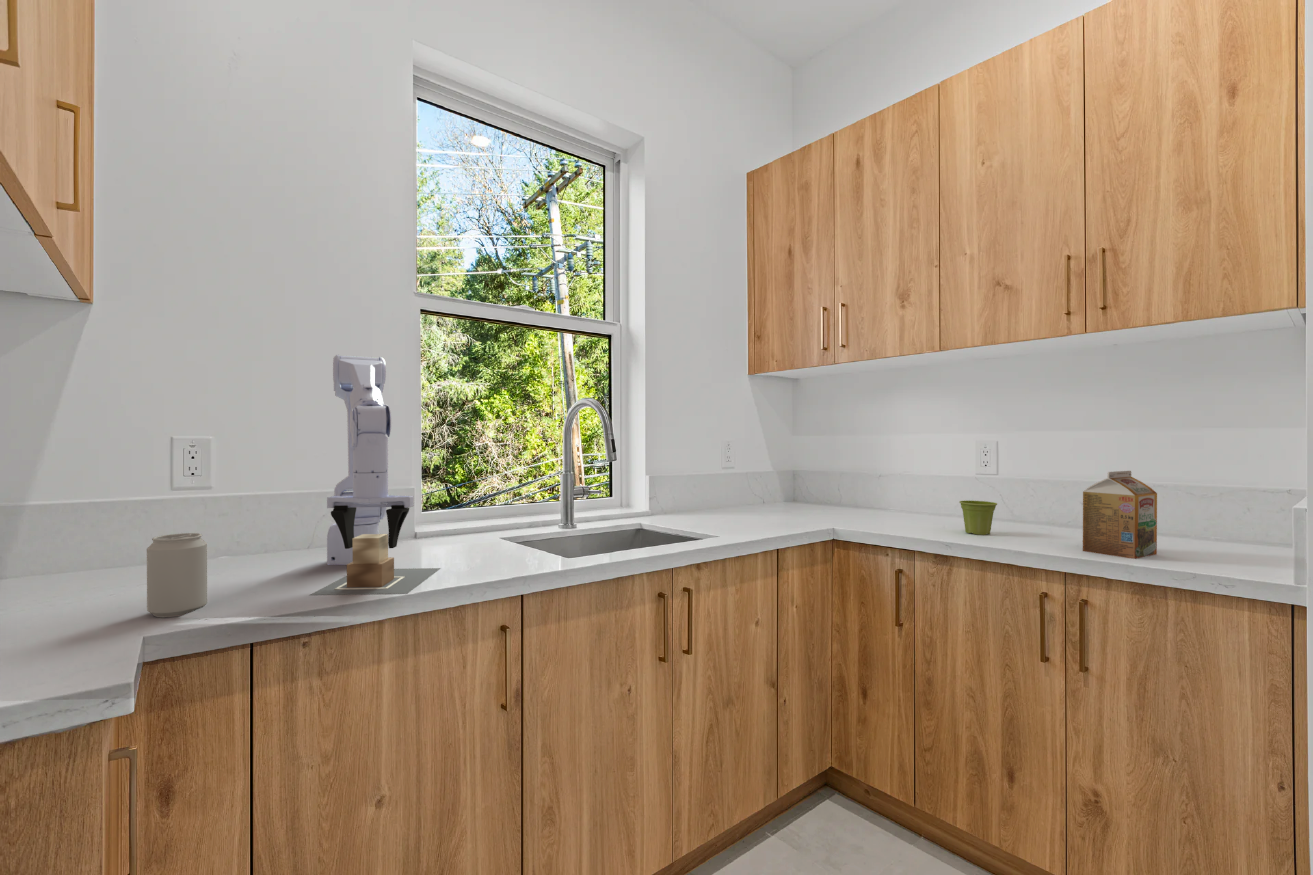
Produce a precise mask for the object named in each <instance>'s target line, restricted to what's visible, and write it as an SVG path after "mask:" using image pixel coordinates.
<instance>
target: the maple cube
mask: <svg viewBox="0 0 1313 875" xmlns="http://www.w3.org/2000/svg"><path fill="white" fill-rule="evenodd" d="M388 535H389V533H379V534H362V535H360V536H357V537H355V538H353V564H379V563H381V562H383V561H384V560H386V559H388V558H389V546H388Z"/></svg>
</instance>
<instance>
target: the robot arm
mask: <svg viewBox="0 0 1313 875" xmlns="http://www.w3.org/2000/svg"><path fill="white" fill-rule="evenodd" d="M386 364H387V363H386V360H385V359H384V357H382V356H378V357H372V356H357V355H356V356H355V355H340V354H335V355H334V356H333V360H332V380H333V391H334V392H335V393H334V394H335V396H336V397H337V398H339V399H341V400H343V401H344V404H345V408H346V412H347V413H346V414H347V415H346V416H347V421H346V422H347V460H348V461H347V466H348V467H347V470H348V475H347V476H346V477H344V478H343V479H341V481H339V482H338V483H337V484H335V487H334V488H333V489H334V490H333V492H334V494H333V495H332V496H328V497H326V508H327V509H332V510H331V511H330V516H331V517H332V519H333V521H334V523H333V524H332V523H331V525H330V527H329V528H328V531H327V535H326V564H327V565H328V566H329V565H333V566H335V565H343V566H345V565H346V566H347V564H349V563H351V562H353V538H355V537H357V536H360V535H362V534H380V526H379V523H381V520H384V518H385V517H386V519H387V526H388V549H394V548H396V547H398V546H397V545H398V541H399V536H400V532H401V529H402V527H403V524H404V522H405V519H406V517H407V515H408V514H409V512H410V508H412V507H414V506H415V502H414V501H415V500H414V499H415V498H414V495H394V494H393V495H391V494H389V437H390V436H391V432H392V412H391V408H390V405H388V404H385V402H384V396H383V392H384V387H385V384H386V377H387V376H386V375H387V374H386V373H387V371H386V369H387V368H386Z"/></svg>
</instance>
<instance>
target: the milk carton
mask: <svg viewBox="0 0 1313 875" xmlns="http://www.w3.org/2000/svg"><path fill="white" fill-rule="evenodd" d="M1157 543H1158V492H1156V491H1155V490H1154V489H1153V488H1152V487H1150V486H1149V485H1147V484H1146V483H1144V482H1142V481H1141V480H1139V479H1137V478H1134V477H1133V476H1132V470H1119V471H1117V470H1116V471H1107V478H1104V479H1102V480H1100V481H1098V482H1096V483H1094V484H1092V485H1090V486H1088V487H1086V488H1085V490H1082V552H1086V553H1092V554H1101V555H1106V556H1112V557H1119V558H1126V559H1133V560H1135V559H1136V560H1137V559H1140V558H1145V557H1150V556H1154V555H1157V553H1158V548H1157V547H1158V544H1157Z"/></svg>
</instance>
